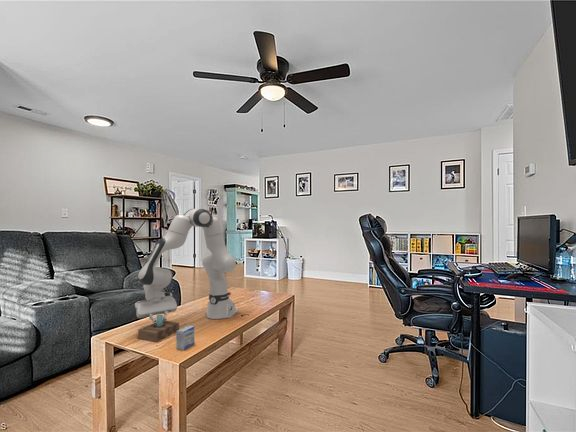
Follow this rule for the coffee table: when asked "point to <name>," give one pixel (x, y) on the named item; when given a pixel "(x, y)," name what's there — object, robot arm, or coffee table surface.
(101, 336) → the coffee table surface
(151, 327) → the hole block
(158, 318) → the peg
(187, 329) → the medicine box
